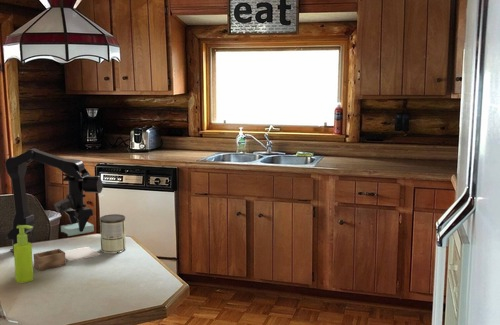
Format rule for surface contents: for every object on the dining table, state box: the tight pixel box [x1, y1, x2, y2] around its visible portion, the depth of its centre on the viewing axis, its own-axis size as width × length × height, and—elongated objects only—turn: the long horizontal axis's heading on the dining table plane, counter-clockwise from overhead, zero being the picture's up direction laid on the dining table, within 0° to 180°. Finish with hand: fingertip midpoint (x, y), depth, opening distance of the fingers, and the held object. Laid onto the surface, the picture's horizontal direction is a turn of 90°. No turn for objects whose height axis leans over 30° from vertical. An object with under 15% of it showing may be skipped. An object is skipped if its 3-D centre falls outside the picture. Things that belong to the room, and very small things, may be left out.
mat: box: [62, 246, 101, 263], centre depth 227 cm, size 12×13×1 cm
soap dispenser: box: [13, 225, 34, 284], centre depth 197 cm, size 6×7×20 cm
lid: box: [60, 221, 95, 237], centre depth 225 cm, size 11×7×3 cm, turn 130°
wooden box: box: [32, 248, 67, 272], centre depth 213 cm, size 10×6×5 cm, turn 130°
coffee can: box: [99, 213, 127, 254], centre depth 232 cm, size 10×10×14 cm
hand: (77, 229), depth 225 cm, fingers closed on lid, 7 cm apart
